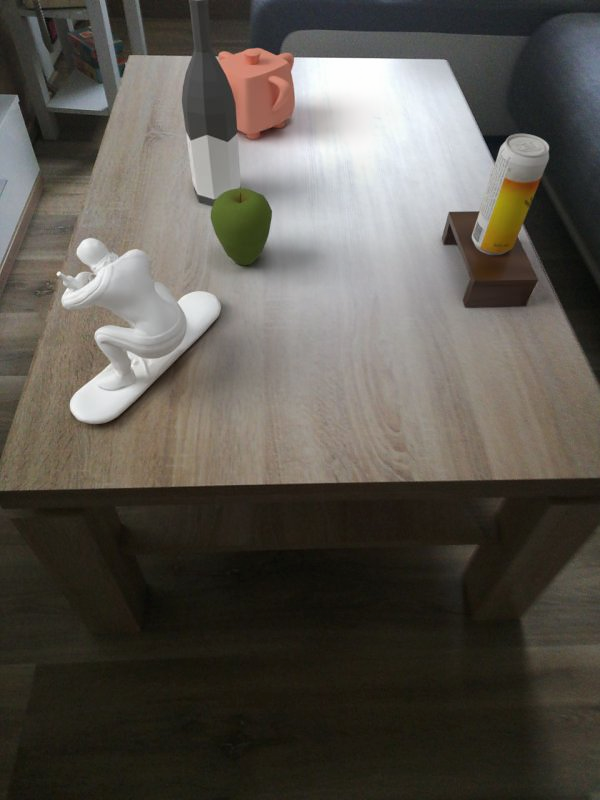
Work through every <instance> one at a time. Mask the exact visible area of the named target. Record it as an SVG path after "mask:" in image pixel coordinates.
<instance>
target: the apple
mask: <svg viewBox="0 0 600 800" xmlns="http://www.w3.org/2000/svg"><path fill="white" fill-rule="evenodd" d="M272 217H273V210H272V207H271V206H270V203H269V201H268V200H267V198H266V196H265V195H263V194H262V193H259V192H257V191H256V190H253V189H251V188H245V187H241V188H237V189H231V190H228V191H226V192H224V193H222V194H221V195H220V196H218V198H217V199H216V200H215V201H214V204H213V206H211V210H210V221H211V224H212V227H213V230H214V233H215V236H216V238H217V240H218V241H219V243H220V245H221V247H222V248H223V251H224V253H225V254H226V256H227V257H228V258H230V259H231V260H232V261H233V262H234V263H236V264H237V265H240V266H250V265H252V264H253V263H254V262H255V261H256V260H257V259H258V258H259V257H260V256H261V255H262V253H263V251H264V249H265V246H266V242H267V240H268V238H269V235H270V229H271V224H272V219H273V218H272Z"/></svg>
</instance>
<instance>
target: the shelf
mask: <svg viewBox="0 0 600 800" xmlns="http://www.w3.org/2000/svg"><path fill="white" fill-rule="evenodd" d="M479 212H480V210H477V211H475V210H474V211H471V210H470V211H468V210H467V211H464V210H463V211H448V213H447V218H446V221H445V225H444V228H443V231H442V236H441V241H442V245H445V246H446V245H451V246H452V245H456V246H457V247H458V250H459V253H460V255H461V258H462V261H463V264H464V266H465V269H466V272H467V275H468V277H469V281H468V284H467V286H466V288H465V292H464V295H463V298H462V302H463V305H464V308H505V307H507V308H508V307H509V308H510V307H527V305H528V303H529V301H530V298H531V297H532V294H533V293H534V290H535V288H536V286H537V284H538V281H539V278H538V276H537V273H536V271H535V269H534V267H533V265H532V263H531V261H530V259H529V257H528V255H527V253H526V250H525V248H524V246H523V244H522V241H520V240H521V239H520V238H519V236H518V237H517V239H516V242H515V244H514V247H513V248H512V249H511V250H509V251H507V252H506V253H504V254H501V255H490V254H486V253H484V252H482V251H480V250H479V249H477V248H476V246H475V244H474V242H473V240H472V233H473V230H474V227H475V224H476V221H477V218H478V215H479Z"/></svg>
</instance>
